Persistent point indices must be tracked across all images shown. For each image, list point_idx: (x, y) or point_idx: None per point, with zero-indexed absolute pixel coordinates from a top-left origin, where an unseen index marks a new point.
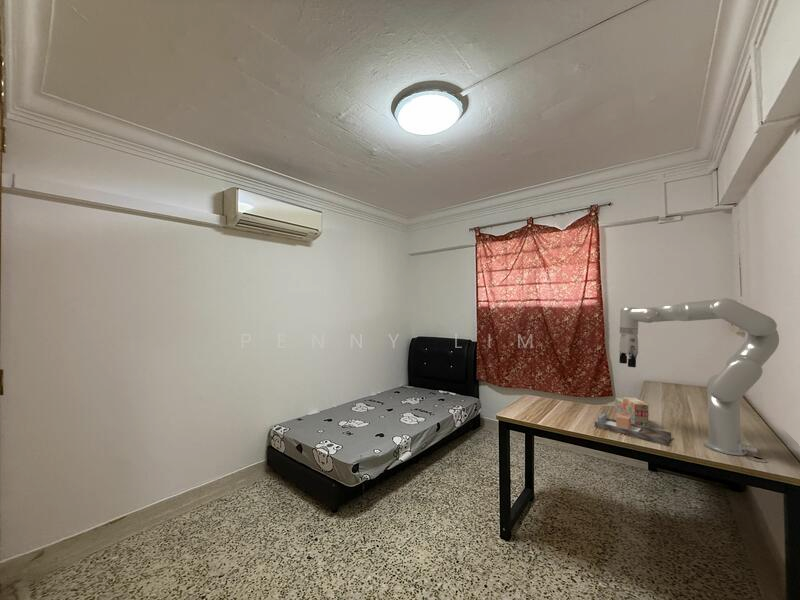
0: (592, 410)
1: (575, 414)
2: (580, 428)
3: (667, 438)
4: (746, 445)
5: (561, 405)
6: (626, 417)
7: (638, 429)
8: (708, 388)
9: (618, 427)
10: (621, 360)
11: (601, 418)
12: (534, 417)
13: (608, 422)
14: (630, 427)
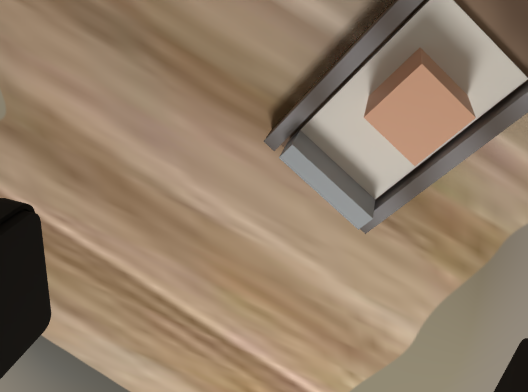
0: (69, 69)
1: (174, 203)
2: (385, 286)
3: None
4: None
5: (41, 197)
6: (433, 106)
7: (463, 22)
8: None
9: (458, 157)
10: (7, 349)
11: (371, 215)
12: (260, 384)
13: (339, 141)
14: (433, 61)
